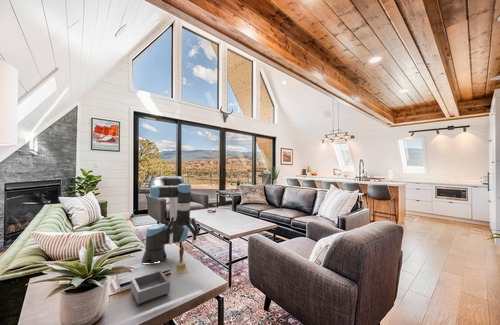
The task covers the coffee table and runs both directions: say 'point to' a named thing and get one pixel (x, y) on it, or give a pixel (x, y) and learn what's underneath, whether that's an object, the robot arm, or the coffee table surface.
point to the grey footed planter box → (149, 286)
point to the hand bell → (181, 262)
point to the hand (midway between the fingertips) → (181, 245)
